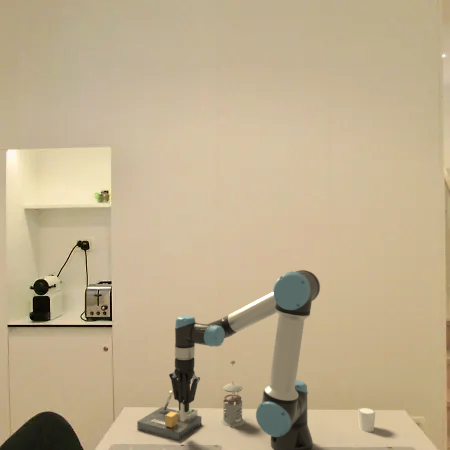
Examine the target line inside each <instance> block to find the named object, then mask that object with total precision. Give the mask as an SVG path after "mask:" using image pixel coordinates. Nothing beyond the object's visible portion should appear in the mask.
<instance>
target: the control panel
mask: <svg viewBox="0 0 450 450" xmlns="http://www.w3.org/2000/svg"><path fill="white" fill-rule="evenodd" d="M163 409H164V406H161V407H159V408H158V409H156V410H155V411H153V412H151V413H149V414H148V415H145V416H144V417H142V418H141V419H139V420H137V423H136V424H137V425H136V428H137V430H140V431H142V432H146V433H150V434H154V435H156V436H157V435H158V436H160V437H163V438H164V437H165V438H167V439H172V440H174V441H178V442H180V441H181V440H182V439H184V438H185V437H186V436H187V435H189V434H191V432H193V431H194V430H196V429H197V428H199V426H201V425H202V416H201V415H198V409H195V408H192V413H191V414H189V415H187V419H186V420H185V421H180V411H179V409H172V408H170V407H169V408H168V407H167V409H166V411H164V410H163ZM170 412H175V413H178V424H176V425H175V426H173V427H172V428H171V427H167V426H165V415H167V414H168V413H170Z"/></svg>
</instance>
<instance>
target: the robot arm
mask: <svg viewBox="0 0 450 450" xmlns="http://www.w3.org/2000/svg"><path fill="white" fill-rule="evenodd" d="M320 290H321V284H320V281H319V279H318V277H317V276H316V275H315V274H314V273H313V272H311V271H309V270H305V269H302V270H295V271H289V272H286V273H284V274H282V275H281V276H279V277H278V279H277V280H276V281H275V283H274V285H273V289H272V291H271V292H269V293H267V294H266V295H264V296H261V297H260V298H258V299H256V300H255V301H252V302H251V303H249V304H246V305H244V306H243V307H242V308H241V307H240V308H239V309H238V310H235V311H234V312H231V313H230V314H228V315H225V316H223V317H222V318H220V319H218V320H215V321H212V322H209V323H198V322H196V318H195V317H194V316H192V315H180V316H178V317H177V318H176V319H175V327H174V335H175V338H174V339H175V344H174V357H175V358H174V371H173V372H170V373H169V375H168V376H169V378H170V380H171V381H170V382H171V387H172V391H173V393H174V396H173V398H174V400H175V401H178V410H179V411H180V421H185V420H186V419H187V412H188V411H189V407H190V404H191V403H192V402H194V401H195V398H196V397H195V396H196V392H197V388H198V384H199V382H200V380H201V377H199V376H198V377H197V375H196V373H195V372H196V371H195V369H194V368H195V351H196V350H195V346H196V345H203V346H209V347H220V346H222V345H223V343H224V341H225V339H227V338H230V337H232V336H234V335H235V334H237V333H238V332H241V331H242V330H245V329H246V328H249V327H250V326H253V325H254V324H256V323H258V322H260V321H262V320H265V319H267V318H268V317H270V316H273V315H275V314H278V319H277V327H276V334H275V339H274V340H275V341H274V346H273V354H272V355H273V356H272V362H271V367H270V368H271V369H270V376H269V383H267V384H266V385H265V386H264V387H263V392H262V400H261V402H260V404H258V407H257V409H256V412H255V418H256V422H257V424H258V426H259V427H260V429H261V430H262V431H263V433H265V434H267V435H268V436H270V446H271V448H272V449H273V450H313V445H314V444H313V437H312V434H311V432H310V429H309V425H308V393H309V392H308V386H307V384H306V383H305V382H304V381H302V380H299V379H297V374H298V368H299V361H300V354H301V353H300V352H301V345H302V338H303V333H304V325H305V320H306V319H307V318H308V317H310V316H311V308H312V303H313V301H314V300H315V299H317V297H318V296H319V294H320ZM195 344H196V345H195Z"/></svg>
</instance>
